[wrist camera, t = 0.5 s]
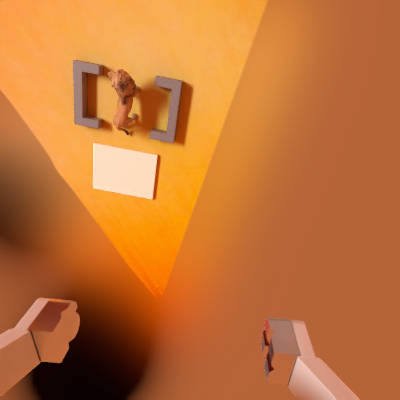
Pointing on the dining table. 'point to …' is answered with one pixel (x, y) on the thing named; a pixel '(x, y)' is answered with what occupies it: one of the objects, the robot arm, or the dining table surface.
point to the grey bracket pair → (82, 119)
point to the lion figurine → (123, 97)
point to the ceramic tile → (124, 170)
